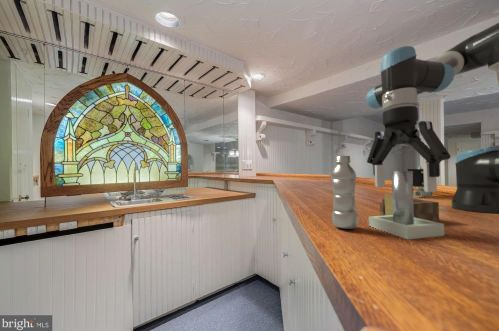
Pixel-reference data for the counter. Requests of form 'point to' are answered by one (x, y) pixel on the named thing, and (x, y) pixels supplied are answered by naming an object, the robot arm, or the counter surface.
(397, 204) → the grey metal peg
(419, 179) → the ball valve
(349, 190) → the plastic bottle
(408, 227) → the tray
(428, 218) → the socket block
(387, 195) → the brass block
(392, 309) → the counter surface
